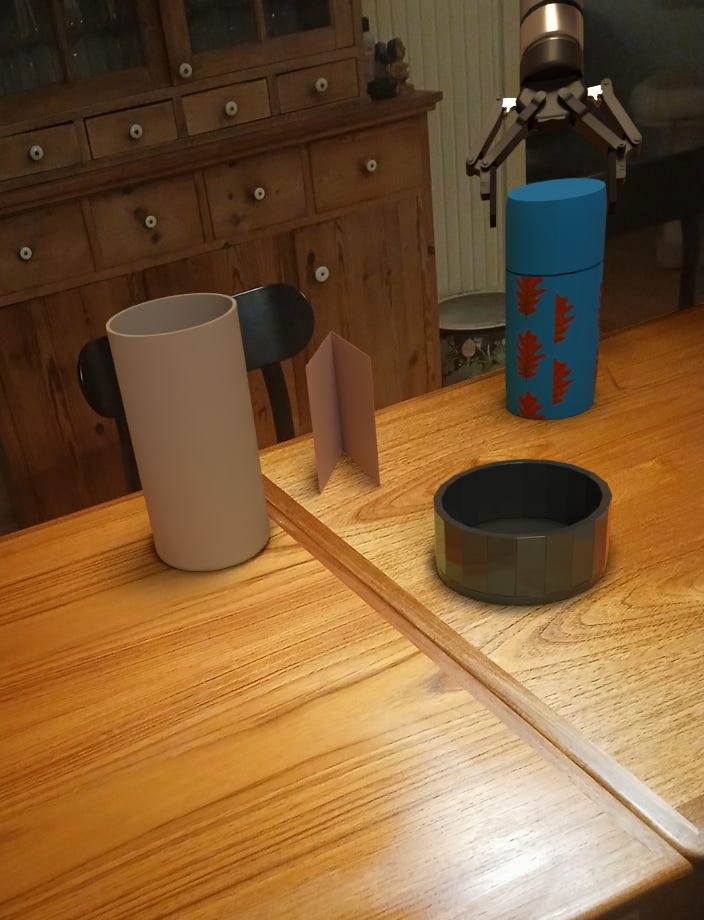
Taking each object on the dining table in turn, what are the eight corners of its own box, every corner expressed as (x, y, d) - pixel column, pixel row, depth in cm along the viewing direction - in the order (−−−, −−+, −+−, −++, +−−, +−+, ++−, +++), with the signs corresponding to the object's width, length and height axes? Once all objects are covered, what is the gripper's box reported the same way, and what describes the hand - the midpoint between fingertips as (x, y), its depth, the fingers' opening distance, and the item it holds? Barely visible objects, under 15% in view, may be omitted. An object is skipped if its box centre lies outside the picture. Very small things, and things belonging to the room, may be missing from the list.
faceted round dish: (590, 516, 99) (594, 452, 95) (622, 600, 86) (627, 530, 82) (432, 528, 102) (429, 467, 98) (440, 611, 89) (438, 544, 85)
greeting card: (335, 451, 121) (323, 331, 113) (395, 451, 119) (387, 327, 111) (312, 494, 113) (297, 367, 104) (376, 494, 110) (366, 364, 102)
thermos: (541, 380, 130) (546, 176, 116) (613, 396, 122) (628, 179, 108) (486, 409, 125) (485, 199, 111) (557, 426, 117) (565, 204, 103)
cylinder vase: (167, 586, 101) (113, 346, 87) (149, 533, 111) (99, 311, 97) (284, 556, 102) (249, 315, 88) (256, 507, 112) (221, 285, 98)
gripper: (655, 64, 122) (659, 221, 118) (449, 94, 129) (447, 243, 125) (665, 17, 115) (669, 183, 111) (446, 52, 122) (443, 209, 118)
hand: (551, 215), depth 118 cm, fingers open, 13 cm apart
